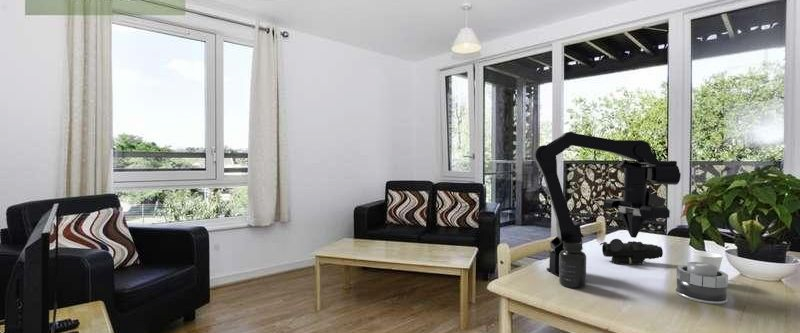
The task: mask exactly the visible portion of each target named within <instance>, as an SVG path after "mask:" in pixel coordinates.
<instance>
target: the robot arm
mask: <svg viewBox="0 0 800 333" xmlns="http://www.w3.org/2000/svg"><path fill="white" fill-rule="evenodd" d="M571 146H573V147H577V148H584V149H588V150H594V151H599V152H601V151H602V152H604V153H605V152H606V153H610V154H613V155H615V156H618V157H620V158H622V160H621V161H620V162H619V163H618V164H616V168H618V169H619V168H620V169H624V170H623V172H624V173H623V174H624V175H623V178H624V179H623V186H620V188H619V191H623V197H622V198H621V199H620V198H607V199H606V200H604V205H603V206H604V207H603V208H604V209H608V210H613V209H619V211H617V212H616V213H617V214H618V215H619V217H620V218H621V221H622V222H623V224H624V225H625V228H626V230H627V232H628V234H629V236H630V237H631V238H634V239H635V238H637V236H638V234H639V232H640V230H641V228H642V226H643V224H644V222H645V221H646V220H647V219H648V218H650V219H665V218H666V219H669V218H670V209H669V208H668V207H667V206H665V204H666V201H667V199H666V198H664V197H662V196H659V195H656V194H654V193H652V192H653V191H652V189H651V187H648V181H649V182H650V183H651V184H652V185H664V186H665V185H667V186H669V185H671V186H675V185H678V184H679V182H680V180H681V172H680V168H679V166H678V164H677V163H678V161H677V160H666V161H660V160H659V159H658V158H657V157H656V155H655V154H654V153H653V152H652V147H651V145H650V144H649V142H648V141H646V140H641V139H640V140H639V139H637V140H636V139H626V140H624V139H619V140H618V139H612V138H606V137H605V138H604V137H599V136H593V135H587V134H582V133H576V132H573V131H568V132H565V133H563V134H562V135H561V136H560V137H558V138H556V139H554V140H553V141H551V142H549V143H547V144H545V145H539V146H537V147H535V149H534V150H533V152H532V158H533V160H534V162H535V164H536V166H537V168H538V170H539V171H540V172H541V174H542V177H543V179H544V183H545V186H546V189H547V193H548V196H549V200H550V202H551V207H552V210H553V213H554V216H555V219H556V225H555V226H556V228H555V229H556V236H555V237H554V238H553V239H552V240H551V241H549V244H550V247H551V249H552V251H549V264H548V265H549V267H547V268H546V271H548V272H550V273H551V274H553V275H555V276H557V277H559V254H560V252H561V251H562V250H564V248H563V242H564V241H565V240H575V241H580V242H582V243H583V238H585V236H584V235H583V233H582V230H581V224H580V223H579V222H578V221H576V220H572V217H571V216H570V211H569V208H568V204H567V201H566V199H565V195H564V191H563V188H562V185H561V182H560V178H559V175H558V162H557V161H558V160H557V156H558V155H559V154H562V152H564V151H566V150H567V149H568V148H569V147H571ZM623 158H624V159H623ZM628 160H630V161H636V162H629V161H628ZM642 164H644V165H645V166H644V165H642ZM646 165H647V166H646Z"/></svg>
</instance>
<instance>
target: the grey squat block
mask: <svg viewBox="0 0 800 333" xmlns="http://www.w3.org/2000/svg"><path fill="white" fill-rule="evenodd" d="M686 265H687V272H690V273H694V274H698V275H704V276H717V267H716V266H714V265H710V264H706V263H700V262H693V261H689V262H687V264H686Z"/></svg>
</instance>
